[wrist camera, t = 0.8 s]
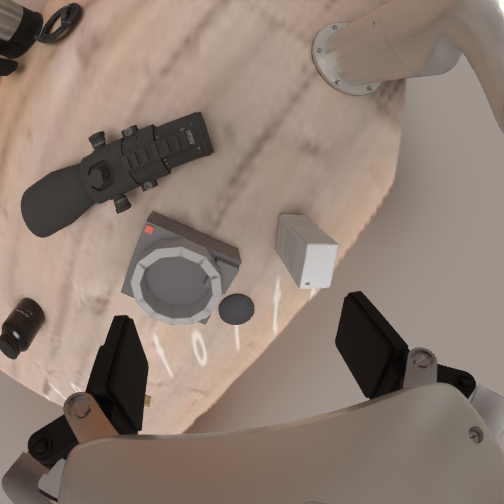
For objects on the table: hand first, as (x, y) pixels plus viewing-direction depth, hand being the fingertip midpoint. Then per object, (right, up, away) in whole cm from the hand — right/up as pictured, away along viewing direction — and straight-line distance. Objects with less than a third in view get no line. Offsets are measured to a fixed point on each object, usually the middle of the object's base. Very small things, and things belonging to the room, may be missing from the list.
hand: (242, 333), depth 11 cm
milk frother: (-33, +39, +9) cm, 52 cm away
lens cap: (-2, -6, +35) cm, 36 cm away
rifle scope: (-18, +15, +22) cm, 33 cm away
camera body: (-11, +2, +30) cm, 32 cm away
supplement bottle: (-44, -8, +29) cm, 53 cm away
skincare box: (+6, +7, +31) cm, 32 cm away
